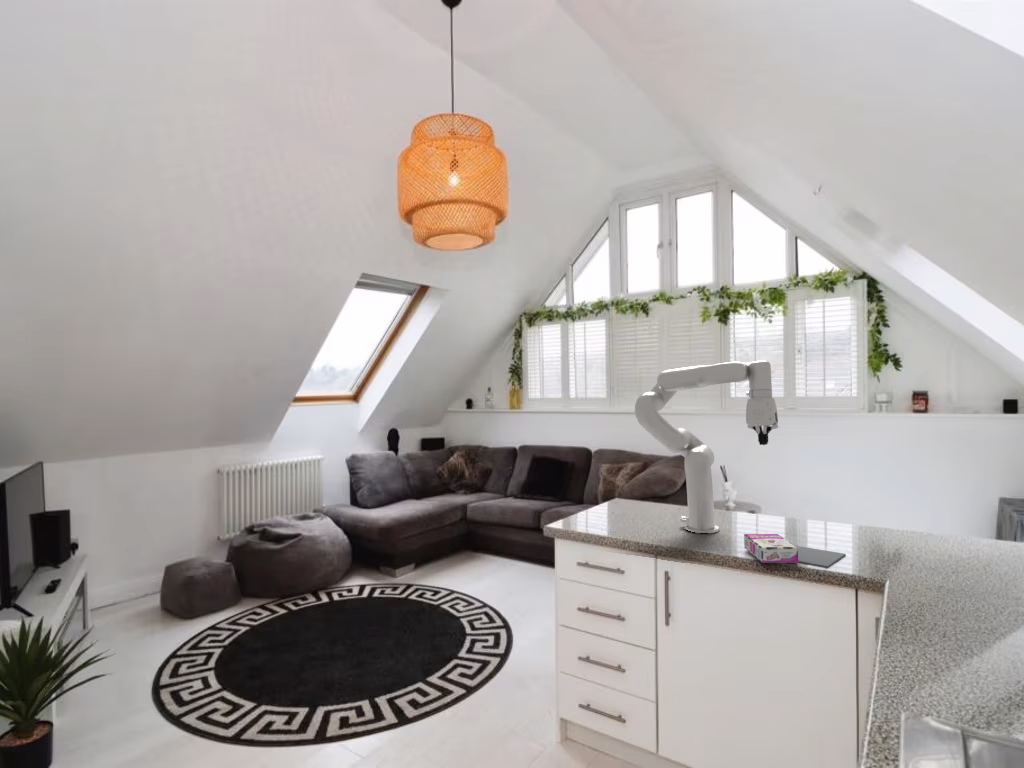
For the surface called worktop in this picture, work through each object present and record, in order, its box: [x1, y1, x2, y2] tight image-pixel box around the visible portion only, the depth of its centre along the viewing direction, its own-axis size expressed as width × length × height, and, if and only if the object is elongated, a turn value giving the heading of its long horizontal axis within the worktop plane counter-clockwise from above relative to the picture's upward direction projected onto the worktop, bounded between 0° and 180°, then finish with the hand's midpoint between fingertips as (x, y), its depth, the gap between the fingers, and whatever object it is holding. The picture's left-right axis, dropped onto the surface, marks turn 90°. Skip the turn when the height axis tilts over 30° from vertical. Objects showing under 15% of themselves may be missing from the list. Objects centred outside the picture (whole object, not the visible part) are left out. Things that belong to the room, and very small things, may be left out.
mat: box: [793, 544, 846, 569], centre depth 180 cm, size 20×16×1 cm
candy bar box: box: [743, 533, 798, 564], centre depth 180 cm, size 11×5×16 cm
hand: (763, 444), depth 206 cm, fingers closed
